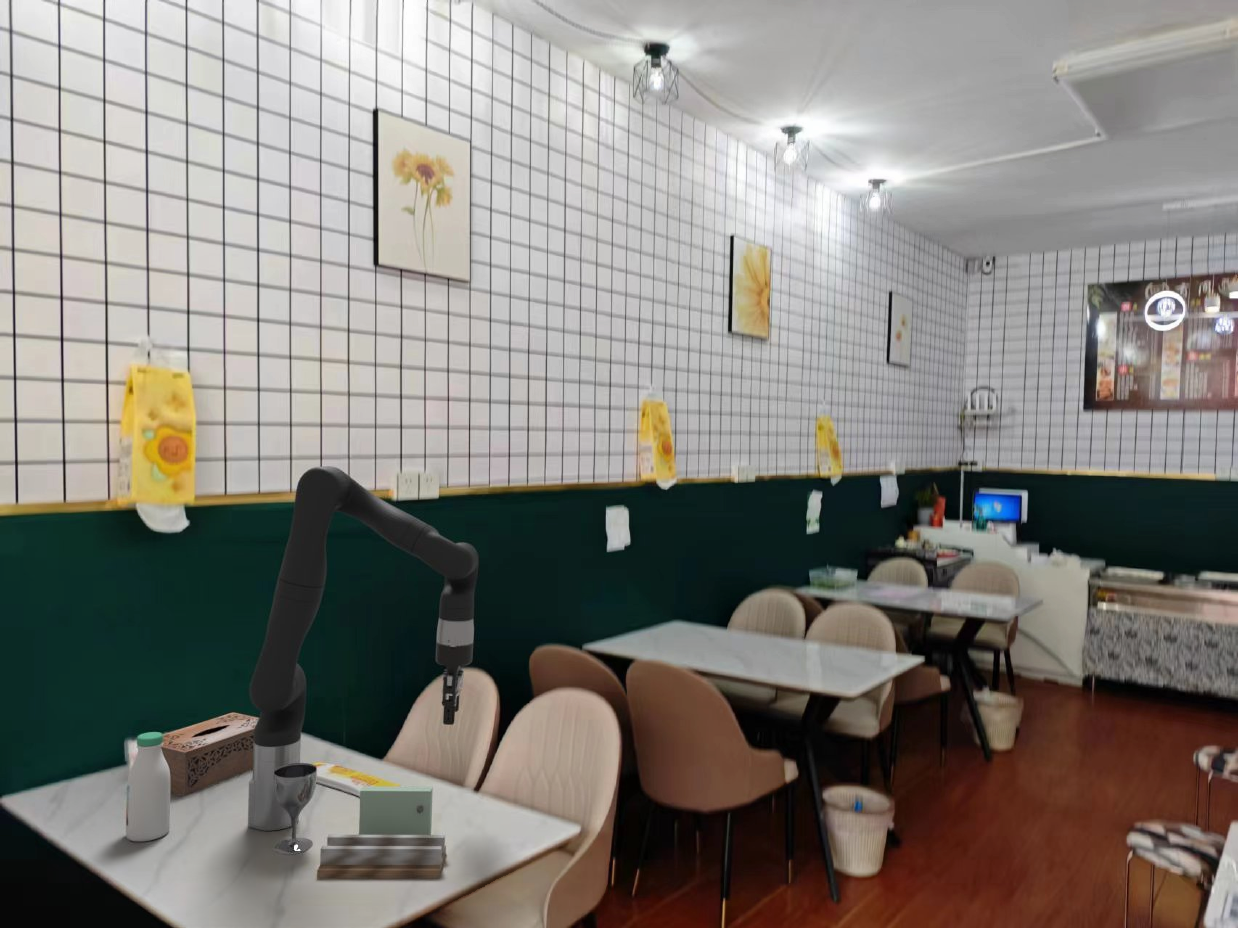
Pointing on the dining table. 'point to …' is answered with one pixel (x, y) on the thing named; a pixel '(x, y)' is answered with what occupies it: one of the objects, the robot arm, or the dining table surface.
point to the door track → (382, 856)
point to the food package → (346, 778)
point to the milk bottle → (148, 791)
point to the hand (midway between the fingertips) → (450, 717)
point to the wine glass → (294, 800)
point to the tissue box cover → (209, 752)
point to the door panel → (395, 810)
